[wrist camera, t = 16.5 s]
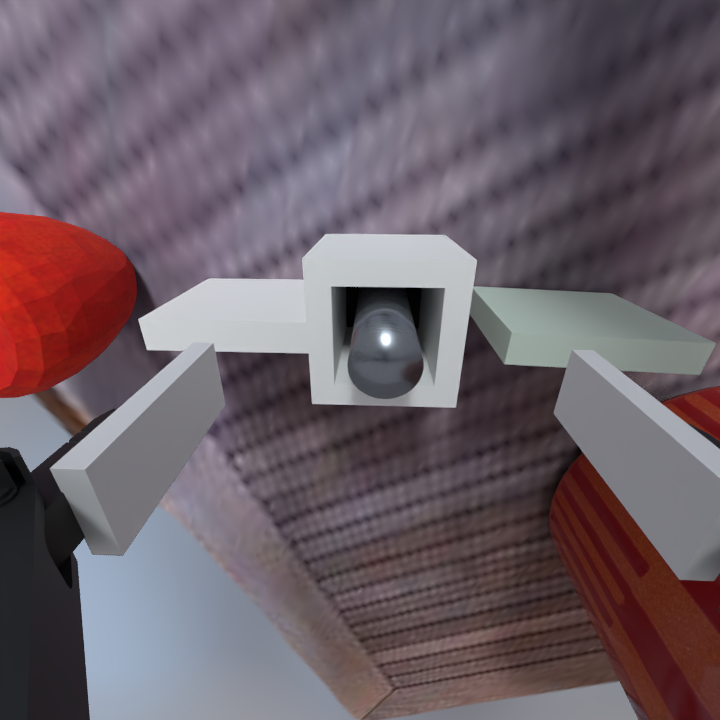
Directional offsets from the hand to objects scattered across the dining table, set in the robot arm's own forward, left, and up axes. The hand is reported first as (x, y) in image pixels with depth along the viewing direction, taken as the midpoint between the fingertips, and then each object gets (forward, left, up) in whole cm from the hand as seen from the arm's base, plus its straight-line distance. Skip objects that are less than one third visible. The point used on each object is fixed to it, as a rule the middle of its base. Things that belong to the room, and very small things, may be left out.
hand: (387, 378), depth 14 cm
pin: (0, 0, -12) cm, 12 cm away
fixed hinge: (0, -4, -12) cm, 12 cm away
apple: (-1, -19, -12) cm, 22 cm away
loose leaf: (+1, +10, -11) cm, 15 cm away
